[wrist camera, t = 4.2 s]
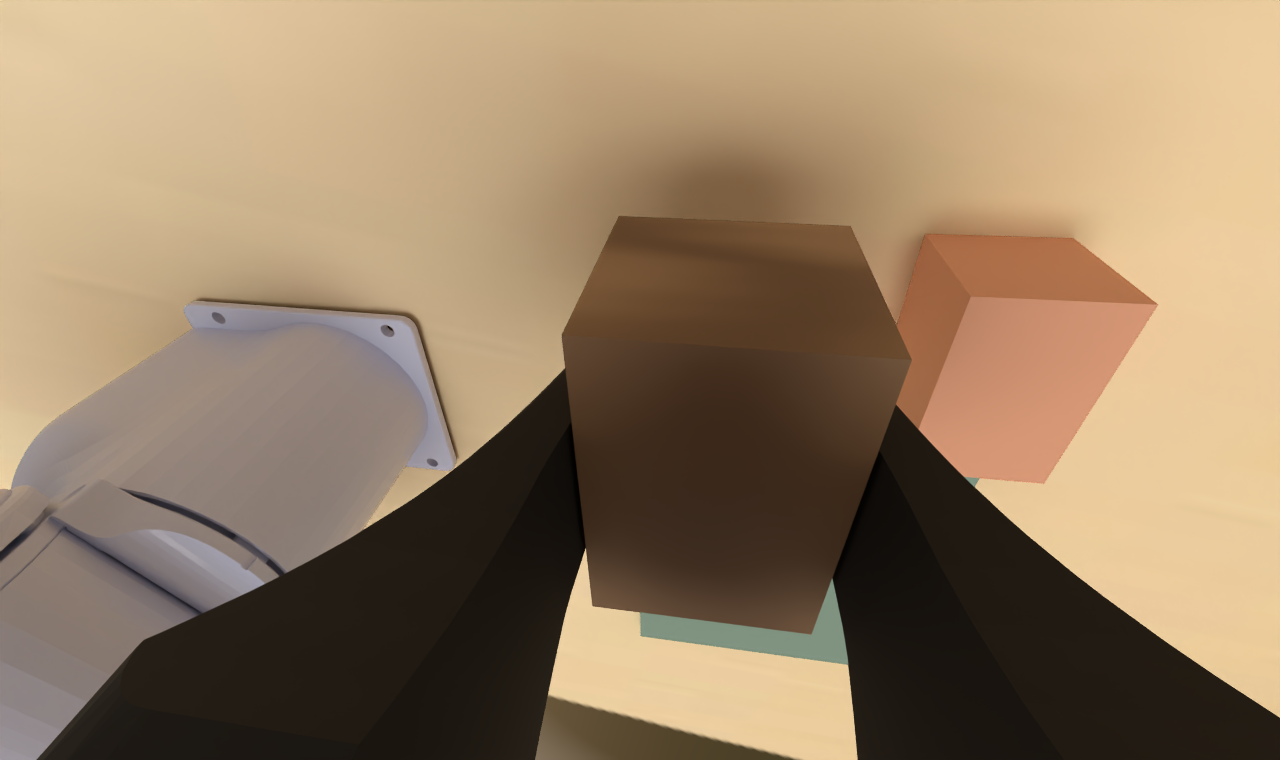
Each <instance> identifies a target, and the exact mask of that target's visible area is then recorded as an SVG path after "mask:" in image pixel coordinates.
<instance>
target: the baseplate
mask: <svg viewBox="0 0 1280 760" xmlns="http://www.w3.org/2000/svg"><path fill="white" fill-rule="evenodd" d="M965 478H966V479H967V480H968V481H969V482H970V483H971V484H972V485H973V486H974V487H975V485H976V483H977V482H978V480H979V478H971V477H965ZM641 636H643V637H651V638H658V639H665V640H672V641H680V642H687V643H694V644H701V645H709V646H716V647H723V648H730V649H738V650H745V651H752V652H759V653H767V654H774V655H781V656H788V657H796V658H803V659H810V660H818V661H825V662H832V663H839V664H847V665H848V657H847V651H846V645H845V639H844V633H843V627H842V622H841V617H840V612H839V608H838V603H837V598H836V593H835V589H834V584H833V579H832V580H831V583H830V586H829V588H828V591H827V594H826V596H825V599H824V602H823V605H822V607H821V610H820V613H819V616H818V618H817V621H816V624H815V627H814V629H813V632H812V635H810V634H802V633H795V632H787V631H779V630H772V629H764V628H756V627H749V626H741V625H733V624H726V623H718V622H710V621H703V620H695V619H687V618H680V617H672V616H664V615H657V614H649V613H641Z"/></svg>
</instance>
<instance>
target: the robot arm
mask: <svg viewBox="0 0 1280 760" xmlns="http://www.w3.org/2000/svg"><path fill="white" fill-rule="evenodd" d="M184 313H185V316H186V317H187V319H188V321H189V322H190V324H191V326H192V327H193V329H191V330H190V331H188V332H187V333H185V334H184V335H182V336H181V337H179V338H177V339H176V340H174V341H173V342H171V343H170V344H168V345H167V346H165V347H164V348H162V349H161V350H159V351H158V352H156V353H155V354H153V355H151V356H150V357H148V358H147V359H145V360H144V361H142V362H141V363H139V364H138V365H136V366H135V367H133V368H132V369H130V370H128V371H127V372H125V373H124V374H122V375H121V376H119V377H118V378H116V379H115V380H113V381H112V382H110V383H109V384H107V385H106V386H104V387H102V388H101V389H99V390H98V391H96V392H95V393H93V394H92V395H90V396H89V397H87V398H86V399H84V400H83V401H81V402H80V403H78V404H76V405H75V406H73V407H72V408H70V409H69V410H67V411H66V412H64V413H63V414H61V415H60V416H59V417H57V418H56V419H55V420H54V421H52V422H51V423H50V424H49V425H47V426H46V427H45V428H44V429H43V430H42V431H41V432H40V433H39V435H38V436H37V437H36V438H35V439H34V441H33V442H32V443H31V444H30V446H29V447H28V449H27V450H26V452H25V454H24V456H23V457H22V459H21V461H20V463H19V465H18V467H17V469H16V472H15V475H14V478H13V482H12V487H11V490H8V489H0V760H535V756H536V751H537V746H538V741H539V736H540V730H541V725H542V721H543V715H544V711H545V706H546V701H547V696H548V691H549V687H550V682H551V677H552V672H553V667H554V663H555V658H556V654H557V649H558V644H559V640H560V635H561V631H562V626H563V621H564V617H565V613H566V610H567V606H568V602H569V599H570V595H571V592H572V589H573V586H574V582H575V579H576V576H577V573H578V570H579V567H580V564H581V561H582V557H583V554H584V551H585V548H586V544H585V535H584V527H583V518H582V509H581V500H580V492H579V483H578V474H577V465H576V457H575V448H574V439H573V430H572V422H571V413H570V404H569V395H568V387H567V378H566V369H564V370H563V371H562V372H561V373H560V374H559V375H558V376H557V377H556V378H555V379H554V380H553V381H552V382H551V383H550V384H549V385H548V386H547V387H546V388H545V389H544V390H543V391H542V392H541V393H540V394H539V395H538V396H537V397H536V398H535V399H534V400H533V401H532V402H531V403H530V404H529V405H528V406H527V407H526V408H525V409H524V410H522V411H521V412H520V413H519V414H518V415H517V416H516V417H515V418H514V419H513V420H512V421H511V422H510V423H509V424H508V425H506V426H505V427H504V428H503V429H502V430H501V431H500V432H499V433H497V434H496V435H495V436H494V437H493V438H492V439H490V440H489V441H488V442H487V443H486V444H484V445H483V446H482V447H481V448H480V449H479V450H477V451H476V452H475V453H474V454H473V455H471V456H470V457H469V458H468V459H467V460H465V461H464V462H463V463H462V464H460V465H459V466H458V467H456V468H455V469H454V470H453V471H451V472H450V473H449V474H447V475H446V476H445V477H443V478H442V479H441V480H439V481H438V482H436V483H435V484H434V485H432V486H431V487H429V488H428V489H427V490H425V491H424V492H422V493H421V494H420V495H418V496H417V497H415V498H414V499H412V500H411V501H409V502H408V503H406V504H404V505H403V506H401V507H400V508H398V509H396V510H395V511H393V512H392V513H390V514H388V515H387V516H385V517H383V518H382V519H380V520H379V521H377V522H375V523H374V524H372V525H371V526H369V527H367V528H366V529H364V527H365V526H366V524H367V523H368V521H369V520H370V518H371V517H372V515H373V514H374V512H375V511H376V509H377V508H378V506H379V505H380V503H381V502H382V500H383V499H384V497H385V496H386V494H387V493H388V491H389V490H390V488H391V487H392V485H393V484H394V482H395V481H396V479H397V478H398V476H399V475H400V473H401V472H402V470H403V469H404V467H405V466H407V467H416V468H425V469H435V470H444V471H447V470H451V469H453V467H454V466H455V464H456V456H455V453H454V450H453V446H452V443H451V440H450V436H449V433H448V430H447V426H446V423H445V420H444V416H443V413H442V410H441V406H440V403H439V400H438V396H437V393H436V390H435V386H434V383H433V380H432V376H431V373H430V370H429V366H428V363H427V360H426V356H425V353H424V350H423V346H422V343H421V340H420V336H419V333H418V330H417V327H416V325H415V323H414V322H413V321H412V320H411V319H409V318H407V317H405V316H400V315H386V314H372V313H358V312H345V311H331V310H317V309H303V308H290V307H276V306H262V305H248V304H234V303H221V302H207V301H192V302H190V303H189V304H187V305H186V306H185V307H184ZM386 325H388V326H390V327H391V328H392V329H393V330H394V331H391V330H390V329H389V328H388V327H387V326H386ZM363 529H364V530H363ZM832 579H833V584H834V589H835V593H836V598H837V603H838V608H839V612H840V617H841V622H842V627H843V633H844V639H845V645H846V651H847V657H848V667H849V676H850V685H851V695H852V704H853V713H854V724H855V735H856V746H857V756H858V760H1280V718H1279V717H1278V716H1276V715H1275V714H1273V713H1272V712H1270V711H1269V710H1267V709H1266V708H1264V707H1262V706H1261V705H1259V704H1258V703H1256V702H1255V701H1253V700H1252V699H1250V698H1249V697H1247V696H1246V695H1244V694H1243V693H1241V692H1239V691H1238V690H1236V689H1235V688H1233V687H1232V686H1230V685H1229V684H1227V683H1226V682H1224V681H1223V680H1221V679H1219V678H1218V677H1216V676H1215V675H1213V674H1212V673H1210V672H1209V671H1208V670H1206V669H1205V668H1203V667H1202V666H1200V665H1199V664H1197V663H1196V662H1194V661H1193V660H1191V659H1190V658H1189V657H1187V656H1186V655H1184V654H1183V653H1181V652H1180V651H1178V650H1177V649H1175V648H1174V647H1172V646H1171V645H1170V644H1168V643H1167V642H1165V641H1164V640H1162V639H1161V638H1160V637H1158V636H1157V635H1156V634H1154V633H1153V632H1151V631H1150V630H1149V629H1147V628H1146V627H1145V626H1143V625H1142V624H1140V623H1139V622H1138V621H1136V620H1135V619H1134V618H1132V617H1131V616H1129V615H1128V614H1127V613H1125V612H1124V611H1123V610H1121V609H1120V608H1118V607H1117V606H1116V605H1114V604H1113V603H1112V602H1110V601H1109V600H1107V599H1106V598H1105V597H1103V596H1102V595H1101V594H1100V593H1098V592H1097V591H1096V590H1094V589H1093V588H1092V587H1090V586H1089V585H1088V584H1087V583H1085V582H1084V581H1083V580H1081V579H1080V578H1079V577H1077V576H1076V575H1075V574H1074V573H1072V572H1071V571H1070V570H1069V569H1068V568H1066V567H1065V566H1064V565H1063V564H1061V563H1060V562H1059V561H1058V560H1057V559H1055V558H1054V557H1053V556H1052V555H1050V554H1049V553H1048V552H1047V551H1046V550H1044V549H1043V548H1042V547H1041V546H1040V545H1038V544H1037V543H1036V542H1035V541H1033V540H1032V539H1031V538H1030V537H1029V536H1027V535H1026V534H1025V533H1024V532H1023V531H1022V530H1021V529H1019V528H1018V527H1017V526H1016V525H1015V524H1014V523H1013V522H1011V521H1010V520H1009V519H1008V518H1007V517H1006V516H1005V515H1004V514H1003V513H1002V512H1000V511H999V510H998V509H997V508H996V507H995V506H994V505H993V504H992V503H991V502H990V501H989V500H988V499H987V498H986V497H984V496H983V495H982V494H981V493H980V492H979V491H978V490H977V489H976V488H975V487H974V486H973V485H972V484H971V483H970V482H969V481H968V480H967V479H966V478H965V477H964V476H963V475H962V474H961V473H960V472H959V471H958V470H957V469H956V468H955V467H954V466H953V465H952V464H951V463H950V462H949V461H948V460H947V459H946V458H945V457H944V456H943V455H942V454H941V453H940V452H939V451H938V450H937V449H936V448H935V447H934V446H933V444H932V443H931V442H930V441H929V440H928V439H927V438H926V437H925V436H924V435H923V434H922V433H921V432H920V430H919V429H918V428H917V427H916V426H915V425H914V424H913V423H912V422H911V421H910V419H909V418H908V417H907V416H906V415H905V414H904V413H903V412H902V411H901V409H900V408H899V407H898V406H897V405H895V408H894V411H893V413H892V416H891V419H890V422H889V424H888V427H887V430H886V433H885V435H884V438H883V441H882V443H881V446H880V449H879V452H878V454H877V457H876V460H875V463H874V465H873V468H872V471H871V474H870V476H869V479H868V482H867V484H866V487H865V490H864V493H863V495H862V498H861V501H860V504H859V506H858V509H857V512H856V514H855V517H854V520H853V523H852V525H851V528H850V531H849V534H848V536H847V539H846V542H845V545H844V547H843V550H842V553H841V555H840V558H839V561H838V564H837V566H836V569H835V572H834V575H833V577H832Z"/></svg>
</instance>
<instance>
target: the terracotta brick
mask: <svg viewBox="0 0 1280 760" xmlns="http://www.w3.org/2000/svg"><path fill="white" fill-rule="evenodd" d="M1157 306H1158V304H1157V303H1155V302H1154V301H1153V300H1151V299H1150V298H1149V297H1148V296H1146V295H1145V294H1144V293H1143V292H1141V291H1140V290H1139V289H1137V288H1136V287H1135V286H1134V285H1132V284H1131V283H1130V282H1129V281H1127V280H1126V279H1125V278H1123V277H1122V276H1121V275H1120V274H1118V273H1117V272H1116V271H1114V270H1113V269H1112V268H1111V267H1109V266H1108V265H1107V264H1106V263H1104V262H1103V261H1102V260H1100V259H1099V258H1098V257H1097V256H1095V255H1094V254H1093V253H1092V252H1090V251H1089V250H1088V249H1086V248H1085V247H1084V246H1083V245H1081V244H1080V243H1079V242H1077V241H1076V240H1075V239H1074V238H1044V237H1011V236H977V235H943V234H925V236H924V239H923V243H922V246H921V249H920V252H919V256H918V259H917V262H916V265H915V268H914V272H913V275H912V278H911V281H910V284H909V288H908V291H907V294H906V297H905V301H904V304H903V307H902V310H901V313H900V317H899V320H898V323H897V328H898V330H899V333H900V335H901V337H902V339H903V341H904V344H905V346H906V348H907V350H908V352H909V354H910V357H911V359H912V362H911V364H910V367H909V370H908V372H907V375H906V378H905V381H904V383H903V386H902V389H901V392H900V394H899V397H898V400H897V402H896V405H897V406H898V407H899V408H900V409H901V411H902V412H903V413H904V414H905V415H906V416H907V417H908V418H909V419H910V421H911V422H912V423H913V424H914V425H915V426H916V427H917V428H918V429H919V430H920V432H921V433H922V434H923V435H924V436H925V437H926V438H927V439H928V440H929V441H930V442H931V443H932V444H933V446H934V447H935V448H936V449H937V450H938V451H939V452H940V453H941V454H942V455H943V456H944V457H945V458H946V459H947V460H948V461H949V462H950V463H951V464H952V465H953V466H954V467H955V468H956V469H957V470H958V471H959V472H960V473H961V474H962V475H963V476H964V477H971V478H983V479H995V480H1007V481H1019V482H1031V483H1043V484H1044V483H1045V481H1046V480H1047V478H1048V477H1049V475H1050V474H1051V472H1052V470H1053V469H1054V467H1055V466H1056V464H1057V463H1058V461H1059V459H1060V458H1061V456H1062V455H1063V453H1064V452H1065V450H1066V448H1067V447H1068V445H1069V444H1070V442H1071V441H1072V439H1073V437H1074V436H1075V434H1076V433H1077V431H1078V430H1079V428H1080V426H1081V425H1082V423H1083V422H1084V420H1085V419H1086V417H1087V416H1088V414H1089V412H1090V411H1091V409H1092V408H1093V406H1094V405H1095V403H1096V401H1097V400H1098V398H1099V397H1100V395H1101V394H1102V392H1103V390H1104V389H1105V387H1106V386H1107V384H1108V383H1109V381H1110V379H1111V378H1112V376H1113V375H1114V373H1115V372H1116V370H1117V368H1118V367H1119V365H1120V364H1121V362H1122V361H1123V359H1124V357H1125V356H1126V354H1127V353H1128V351H1129V350H1130V348H1131V347H1132V345H1133V343H1134V342H1135V340H1136V339H1137V337H1138V336H1139V334H1140V332H1141V331H1142V329H1143V328H1144V326H1145V325H1146V323H1147V321H1148V320H1149V318H1150V317H1151V315H1152V314H1153V312H1154V310H1155V309H1156V307H1157Z"/></svg>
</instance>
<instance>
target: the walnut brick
mask: <svg viewBox="0 0 1280 760" xmlns="http://www.w3.org/2000/svg"><path fill="white" fill-rule="evenodd" d="M562 343H563V352H564V360H565V369H566V378H567V387H568V395H569V404H570V413H571V422H572V430H573V439H574V448H575V457H576V465H577V474H578V483H579V492H580V500H581V509H582V518H583V527H584V535H585V544H586V553H587V562H588V571H589V579H590V588H591V597H592V606H595V607H603V608H611V609H618V610H626V611H634V612H641V613H649V614H657V615H664V616H672V617H680V618H687V619H695V620H703V621H710V622H718V623H726V624H733V625H741V626H749V627H756V628H764V629H772V630H779V631H787V632H795V633H802V634H810V635H812V632H813V629H814V627H815V624H816V621H817V618H818V616H819V613H820V610H821V607H822V605H823V602H824V599H825V596H826V594H827V591H828V588H829V586H830V583H831V580H832V577H833V575H834V572H835V569H836V566H837V564H838V561H839V558H840V555H841V553H842V550H843V547H844V545H845V542H846V539H847V536H848V534H849V531H850V528H851V525H852V523H853V520H854V517H855V514H856V512H857V509H858V506H859V504H860V501H861V498H862V495H863V493H864V490H865V487H866V484H867V482H868V479H869V476H870V474H871V471H872V468H873V465H874V463H875V460H876V457H877V454H878V452H879V449H880V446H881V443H882V441H883V438H884V435H885V433H886V430H887V427H888V424H889V422H890V419H891V416H892V413H893V411H894V408H895V405H896V402H897V400H898V397H899V394H900V392H901V389H902V386H903V383H904V381H905V378H906V375H907V372H908V370H909V367H910V364H911V362H912V359H911V357H910V354H909V352H908V350H907V348H906V346H905V344H904V341H903V339H902V337H901V335H900V333H899V330H898V328H897V326H896V324H895V322H894V320H893V317H892V315H891V313H890V311H889V309H888V307H887V304H886V302H885V300H884V298H883V296H882V294H881V291H880V289H879V287H878V285H877V283H876V280H875V278H874V276H873V274H872V272H871V270H870V267H869V265H868V263H867V261H866V259H865V257H864V254H863V252H862V250H861V248H860V246H859V244H858V241H857V239H856V237H855V235H854V233H853V231H852V228H851V226H835V225H812V224H789V223H766V222H743V221H720V220H696V219H673V218H650V217H627V216H619V217H618V219H617V221H616V223H615V225H614V227H613V229H612V232H611V234H610V236H609V238H608V240H607V242H606V244H605V246H604V248H603V250H602V252H601V254H600V256H599V259H598V261H597V263H596V265H595V267H594V269H593V271H592V273H591V275H590V277H589V279H588V281H587V284H586V286H585V288H584V290H583V292H582V294H581V296H580V298H579V300H578V302H577V304H576V306H575V309H574V311H573V313H572V315H571V317H570V319H569V321H568V323H567V325H566V327H565V329H564V331H563V333H562Z"/></svg>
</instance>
